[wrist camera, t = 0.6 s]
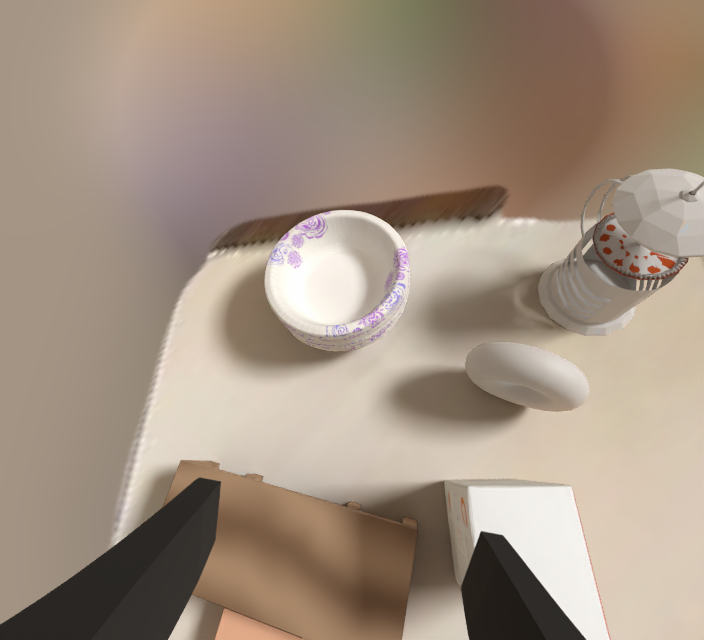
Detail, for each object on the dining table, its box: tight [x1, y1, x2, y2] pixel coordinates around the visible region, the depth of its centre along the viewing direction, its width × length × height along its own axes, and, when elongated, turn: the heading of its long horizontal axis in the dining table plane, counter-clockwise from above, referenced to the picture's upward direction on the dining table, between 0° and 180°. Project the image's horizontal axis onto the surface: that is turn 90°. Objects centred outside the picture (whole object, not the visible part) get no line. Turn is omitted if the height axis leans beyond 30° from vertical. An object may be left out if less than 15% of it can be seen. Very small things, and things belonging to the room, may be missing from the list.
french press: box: [538, 169, 704, 335], centre depth 27 cm, size 10×12×25 cm
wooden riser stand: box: [163, 460, 418, 640], centre depth 30 cm, size 9×22×5 cm, turn 76°
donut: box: [465, 342, 589, 412], centre depth 31 cm, size 10×4×10 cm, turn 66°
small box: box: [444, 479, 611, 640], centre depth 25 cm, size 8×6×13 cm
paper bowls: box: [264, 210, 410, 352], centre depth 38 cm, size 15×15×8 cm
